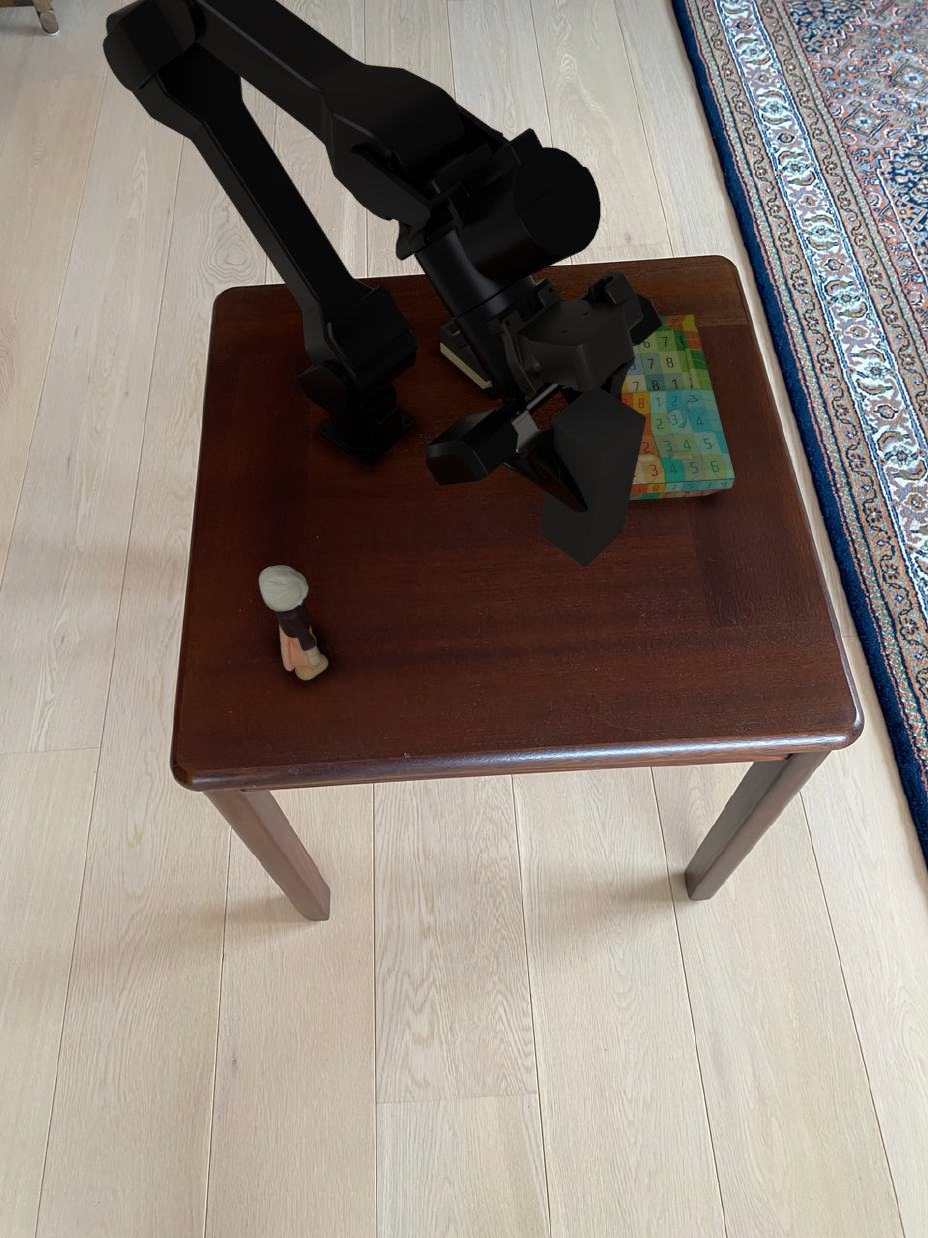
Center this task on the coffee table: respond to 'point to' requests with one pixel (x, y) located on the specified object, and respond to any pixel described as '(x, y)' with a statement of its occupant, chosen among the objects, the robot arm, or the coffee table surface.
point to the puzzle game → (676, 416)
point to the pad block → (594, 472)
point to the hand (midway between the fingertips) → (604, 490)
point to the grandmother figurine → (292, 620)
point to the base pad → (462, 355)
